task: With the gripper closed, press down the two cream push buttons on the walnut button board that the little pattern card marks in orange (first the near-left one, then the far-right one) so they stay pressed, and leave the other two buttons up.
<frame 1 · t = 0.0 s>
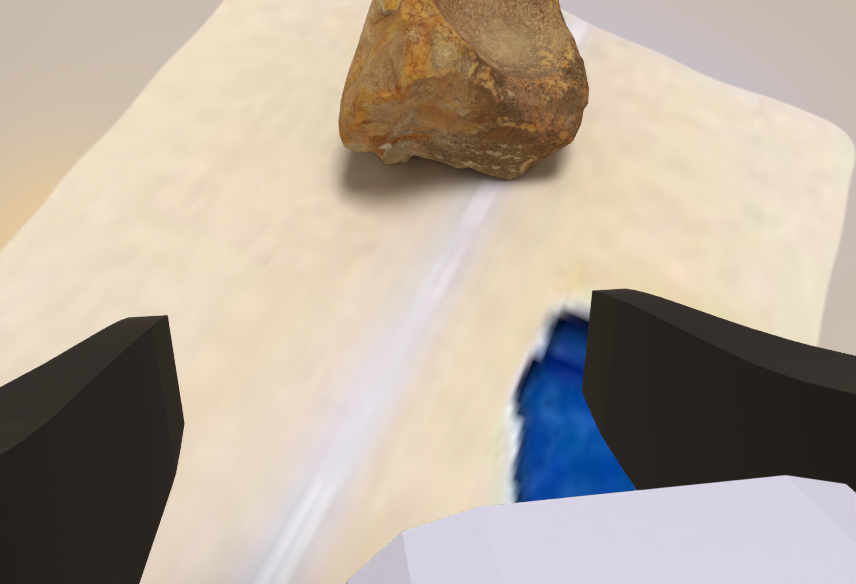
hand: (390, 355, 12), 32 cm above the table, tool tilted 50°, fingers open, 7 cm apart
rough brown rock: (466, 125, 56), on the table
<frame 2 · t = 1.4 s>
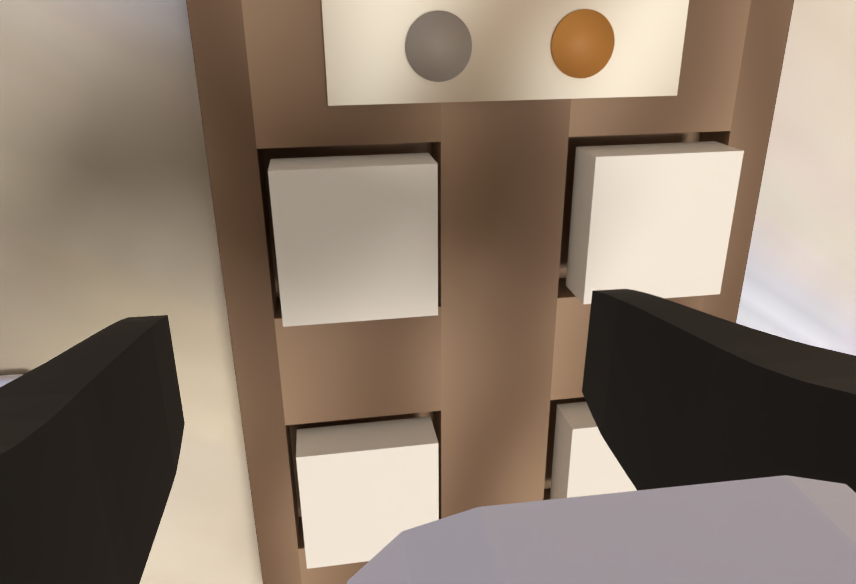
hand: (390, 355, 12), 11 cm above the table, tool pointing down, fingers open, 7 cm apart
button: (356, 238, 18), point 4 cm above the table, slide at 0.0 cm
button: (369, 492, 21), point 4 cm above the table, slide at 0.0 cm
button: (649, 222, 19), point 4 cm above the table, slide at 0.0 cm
button board: (472, 280, 23), on the table
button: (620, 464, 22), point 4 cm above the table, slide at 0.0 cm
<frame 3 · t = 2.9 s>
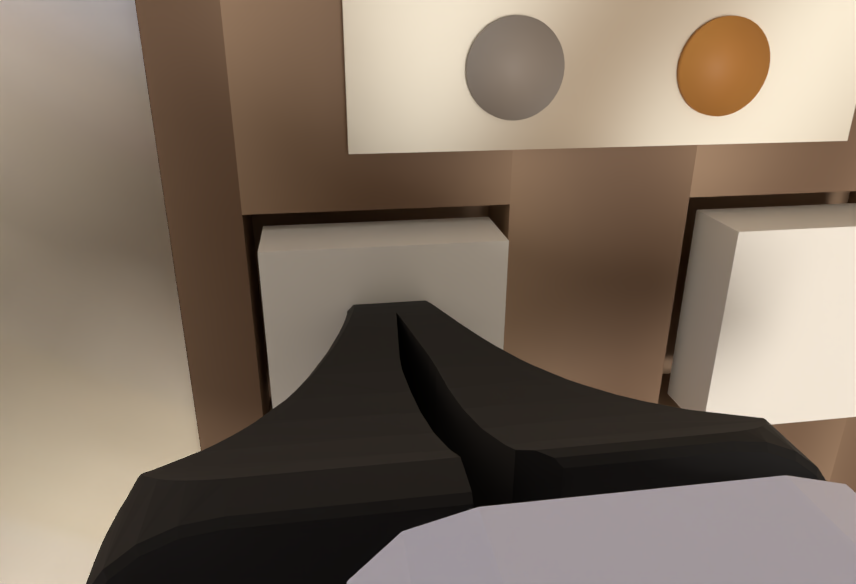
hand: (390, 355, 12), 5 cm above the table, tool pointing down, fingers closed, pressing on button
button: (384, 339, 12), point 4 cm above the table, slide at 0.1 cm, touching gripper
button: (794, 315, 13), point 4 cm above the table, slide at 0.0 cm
button board: (527, 367, 18), on the table
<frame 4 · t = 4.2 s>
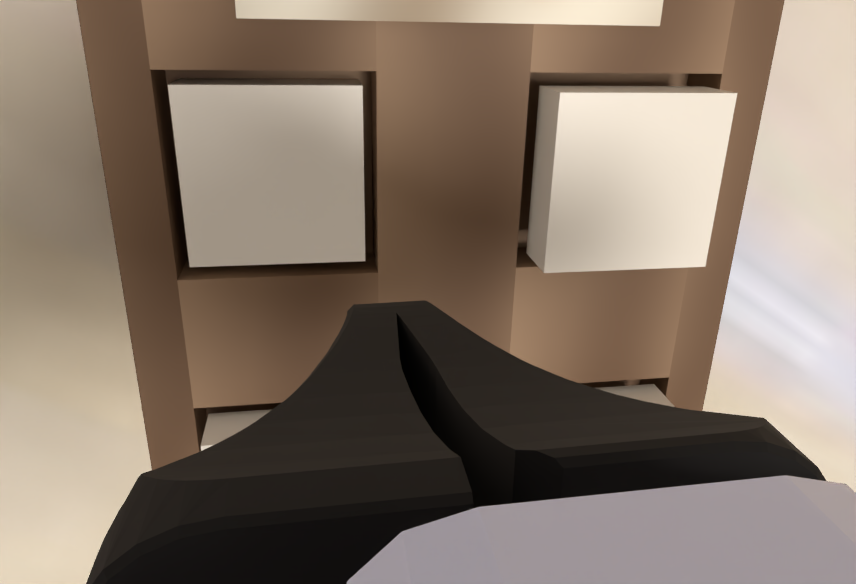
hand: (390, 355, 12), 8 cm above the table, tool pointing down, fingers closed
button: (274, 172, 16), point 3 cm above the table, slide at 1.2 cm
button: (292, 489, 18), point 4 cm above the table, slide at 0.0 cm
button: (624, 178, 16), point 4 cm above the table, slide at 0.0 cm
button board: (425, 250, 20), on the table
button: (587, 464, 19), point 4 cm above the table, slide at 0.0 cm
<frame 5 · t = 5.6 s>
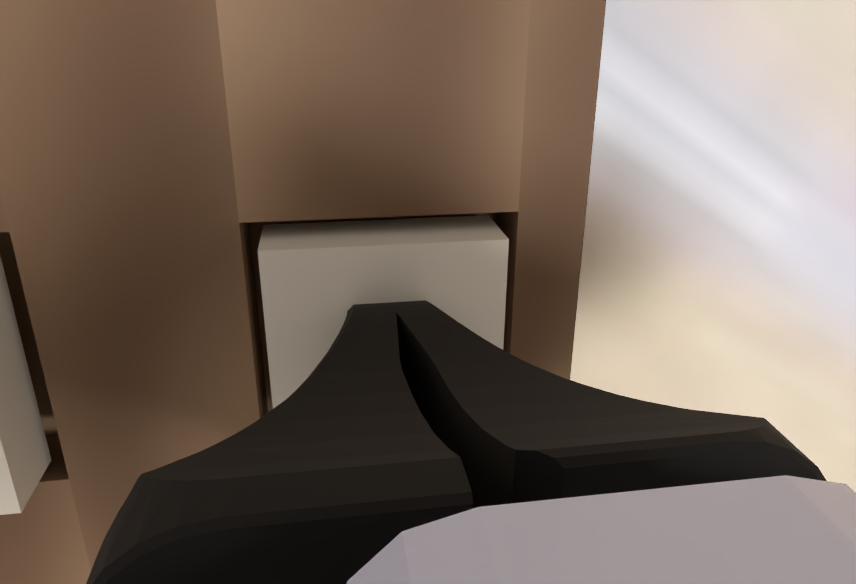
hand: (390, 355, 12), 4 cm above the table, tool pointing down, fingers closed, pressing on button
button board: (148, 33, 13), on the table
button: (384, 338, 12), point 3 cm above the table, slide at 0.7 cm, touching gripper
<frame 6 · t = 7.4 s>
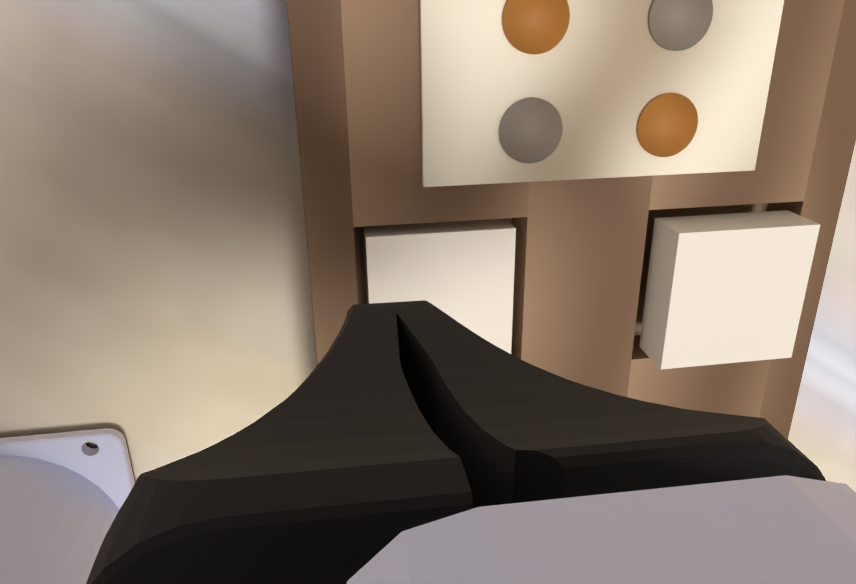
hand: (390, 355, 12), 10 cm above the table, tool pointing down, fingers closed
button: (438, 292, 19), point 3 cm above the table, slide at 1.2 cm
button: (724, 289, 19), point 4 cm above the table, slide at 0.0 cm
button board: (539, 333, 24), on the table
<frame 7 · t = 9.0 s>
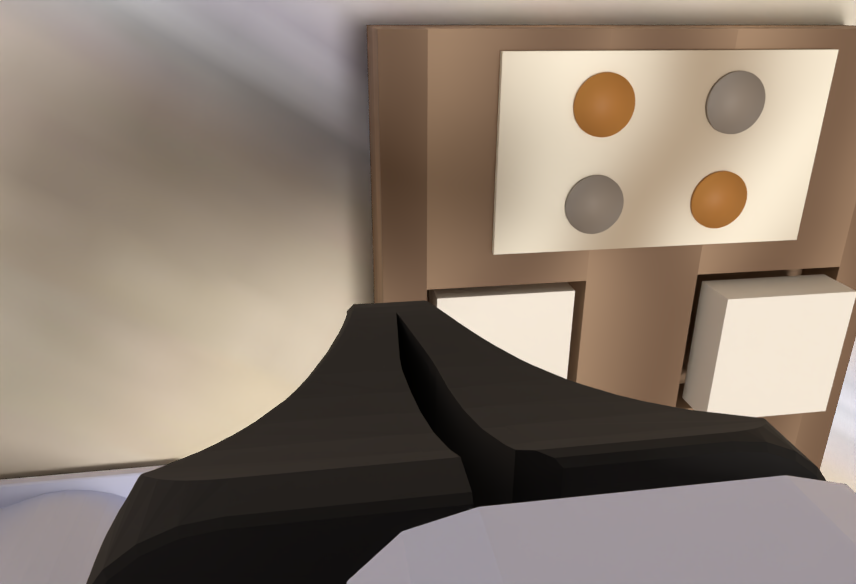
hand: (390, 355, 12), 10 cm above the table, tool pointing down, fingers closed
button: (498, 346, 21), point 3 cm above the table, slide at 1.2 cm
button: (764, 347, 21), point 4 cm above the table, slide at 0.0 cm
button board: (582, 378, 25), on the table
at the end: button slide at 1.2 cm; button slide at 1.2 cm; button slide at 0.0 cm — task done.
